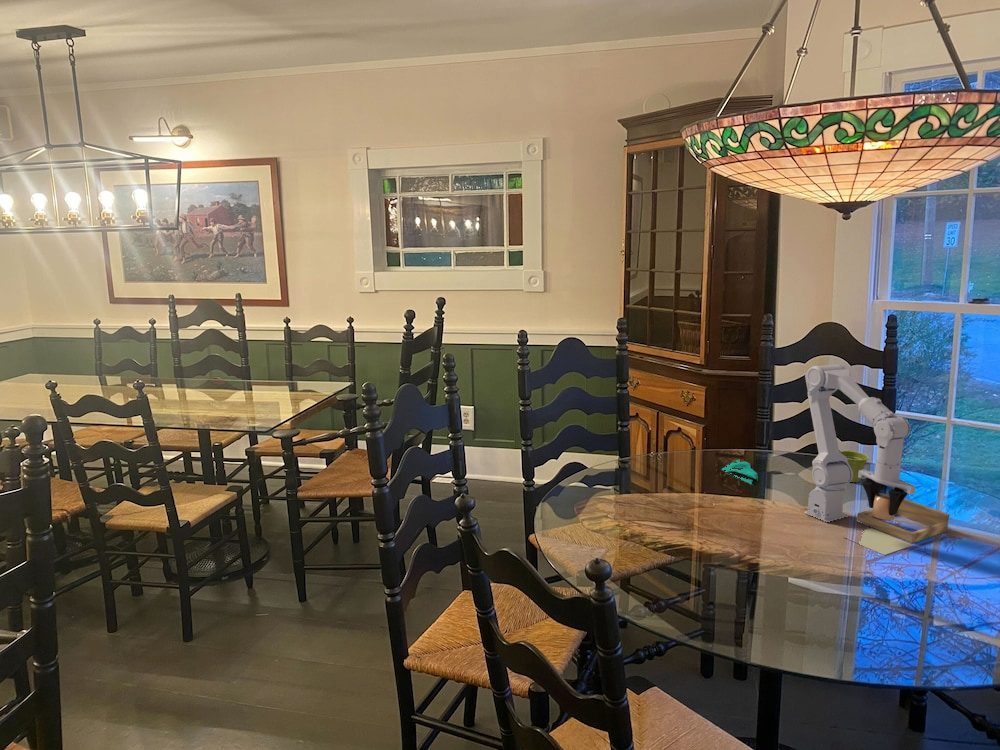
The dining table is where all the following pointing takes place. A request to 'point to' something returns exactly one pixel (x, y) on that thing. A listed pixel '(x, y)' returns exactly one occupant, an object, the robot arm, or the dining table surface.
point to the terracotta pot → (882, 506)
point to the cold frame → (914, 512)
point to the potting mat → (882, 542)
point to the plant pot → (855, 462)
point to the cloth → (742, 470)
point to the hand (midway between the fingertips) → (882, 510)
